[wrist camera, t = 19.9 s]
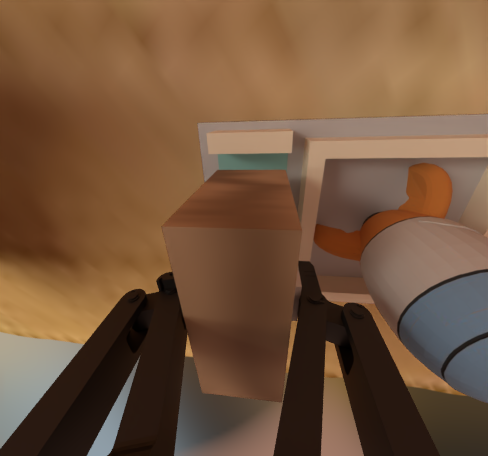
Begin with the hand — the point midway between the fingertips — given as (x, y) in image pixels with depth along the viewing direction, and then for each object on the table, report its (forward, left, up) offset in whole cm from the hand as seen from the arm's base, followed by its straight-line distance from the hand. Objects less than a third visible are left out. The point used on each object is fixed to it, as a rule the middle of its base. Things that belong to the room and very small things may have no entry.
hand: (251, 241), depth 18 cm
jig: (+7, 0, -5) cm, 9 cm away
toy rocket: (+12, -1, -4) cm, 12 cm away
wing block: (0, 0, 0) cm, 0 cm away
